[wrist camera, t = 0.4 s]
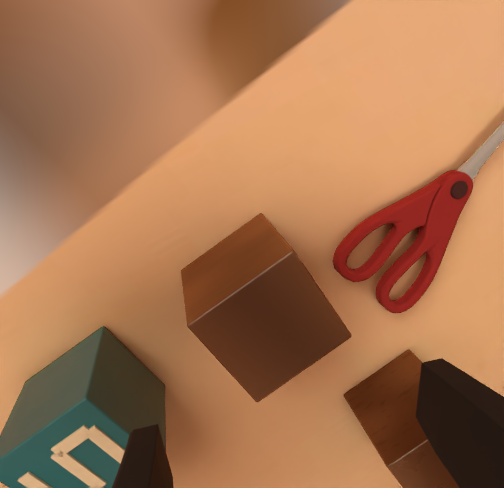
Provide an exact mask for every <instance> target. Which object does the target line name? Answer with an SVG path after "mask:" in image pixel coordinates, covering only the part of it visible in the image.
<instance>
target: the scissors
mask: <svg viewBox="0 0 504 488" xmlns="http://www.w3.org/2000/svg"><path fill="white" fill-rule="evenodd" d="M503 140H504V121H503V122H502V123H501V124H500V126H499V127H498V128H497V129H496V130H495V131H494V132H493V133H492V134H491V135H490V137H489V138H488V139H487V140H486V141H485V142H484V143H483V144H482V145H481V146H480V147H479V148H478V150H477V151H476V152H475V153H474V154H473V155H472V156H471V157H470V158H469V159H468V161H467V162H464V163H463V164H462V165H461V166H460V167H459V168H458V169H457V170H451V171H448V172H446V173H444V174H443V175H441V176H440V177H438V178H437V179H435V180H434V181H433V182H431V183H430V184H429V185H427V186H425V187H424V188H422V189H420V190H418V191H416V192H414V193H413V194H411V195H409V196H407V197H405V198H403V199H402V200H400V201H398V202H396V203H394V204H392V205H390V206H388V207H386V208H384V209H383V210H381V211H379V212H377V213H375V214H374V215H372V216H370V217H368V218H367V219H365V220H364V221H362V222H361V223H360V224H359V225H357V226H356V227H355V228H354V229H353V230H352V231H351V232H350V233H349V234H348V235H347V236H346V237H345V238H344V239H343V241H342V242H341V243H340V244H339V246H338V247H337V249H336V251H335V253H334V257H333V264H334V268H335V269H336V270H337V271H338V272H339V273H340V274H341V275H342V276H343V277H344V278H346V279H347V280H350V281H353V282H360V281H363V280H366V279H368V278H369V277H371V276H372V275H373V274H374V273H376V272H377V271H378V269H379V268H380V267H381V266H382V265H383V264H384V262H385V261H386V260H387V259H388V257H389V256H390V255H391V253H392V252H393V251H394V249H395V248H396V246H397V245H398V244H399V242H400V241H401V240H402V238H403V237H404V236H405V235H406V234H407V233H409V232H410V231H411V230H413V229H415V228H417V227H419V231H418V235H417V237H416V239H415V241H414V242H413V244H412V245H411V246H410V248H409V249H408V250H407V251H406V252H405V253H404V254H403V255H402V256H400V257H399V258H398V259H397V260H396V261H395V263H394V264H393V265H392V266H391V267H390V268H389V269H388V270H387V271H386V272H385V273H384V275H383V276H382V277H381V279H380V280H379V282H378V284H377V287H376V298H377V300H378V301H379V303H380V304H381V305H382V306H383V307H385V308H386V309H387V310H388V311H390V312H392V313H401V312H404V311H406V310H408V309H409V308H411V307H412V306H413V305H414V304H415V303H416V302H417V301H418V300H419V299H420V298H421V296H422V295H423V294H424V293H425V291H426V290H427V288H428V287H429V286H430V284H431V282H432V281H433V279H434V277H435V275H436V273H437V270H438V268H439V266H440V263H441V261H442V258H443V256H444V253H445V250H446V248H447V245H448V243H449V240H450V238H451V235H452V233H453V230H454V228H455V225H456V223H457V220H458V218H459V216H460V213H461V211H462V209H463V208H464V206H465V204H466V202H467V200H468V198H469V196H470V194H471V192H472V188H473V181H472V180H473V179H474V178H475V177H476V175H477V174H478V171H479V169H480V168H481V167H482V166H483V165H484V163H485V162H486V161H487V160H488V158H489V157H490V156H491V155H492V153H493V152H494V151H495V150H496V149H497V147H498V146H499V145H500V144H501V142H502V141H503ZM388 223H393V228H392V229H391V230H390V232H389V233H388V234H387V235H386V237H385V238H384V240H383V241H382V243H381V244H380V245H379V247H378V248H377V249H376V251H375V252H374V253H373V255H372V256H371V257H370V258H369V259H368V261H367V262H366V263H365V264H363V265H362V266H361V267H359V268H357V269H351V268H348V267H347V265H346V262H347V258H348V256H349V254H350V253H351V252H352V250H353V249H354V248H355V247H356V246H357V245H358V244H359V243H360V242H361V241H362V240H363V239H364V238H365V237H366V236H367V235H368V234H370V233H371V232H372V231H374V230H375V229H377V228H378V227H380V226H382V225H384V224H388ZM424 253H426V260H425V263H424V265H423V268H422V270H421V272H420V274H419V276H418V277H417V279H416V280H415V282H414V283H413V284H412V286H411V287H410V288H409V289H408V291H407V292H406V293H405V294H404V295H403V296H402V297H400V298H399V299H397V300H395V301H394V300H390V298H389V292H390V290H391V288H392V287H393V285H394V284H395V283H396V281H397V280H398V279H399V278H400V277H401V276H402V275H403V274H404V273H405V272H406V271H407V270H408V269H409V268H410V267H411V266H412V265H413V264H414V263H415V262H416V261H417V260H418V259H419V258H420V257H421V256H422V255H423V254H424Z"/></svg>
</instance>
